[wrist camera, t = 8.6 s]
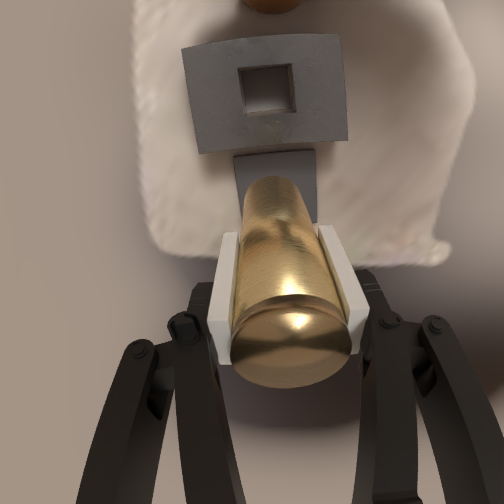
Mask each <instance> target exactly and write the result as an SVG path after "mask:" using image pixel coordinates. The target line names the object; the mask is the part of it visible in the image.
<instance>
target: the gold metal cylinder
mask: <svg viewBox="0 0 504 504" xmlns="http://www.w3.org/2000/svg"><path fill="white" fill-rule="evenodd" d="M351 351H352V341H351V337H350V334H349V331H348V327H347V324H346V321H345V317H344V314H343V311H342V308H341V305H340V302H339V299H338V295H337V292H336V289H335V286H334V283H333V280H332V277H331V274H330V272H329V269H328V266H327V263H326V260H325V257H324V254H323V252H322V249H321V246H320V243H319V241H318V238H317V235H316V232H315V230H314V227H313V224H312V222H311V219H310V216H309V214H308V211H307V209H306V206H305V204H304V201H303V199H302V196H301V194H300V191H299V189H298V188H297V186H296V185H295V184H294V183H293V182H292V181H290V180H289V179H287V178H284V177H281V176H266V177H263V178H260V179H258V180H257V181H255V182H254V183H253V184H252V185H251V186H250V187H249V188H248V190H247V192H246V195H245V198H244V208H243V218H242V228H241V239H240V249H239V259H238V270H237V281H236V292H235V303H234V314H233V325H232V337H231V349H230V361H231V364H232V366H233V368H234V369H235V371H237V373H238V374H239V375H241V376H242V377H243V378H245V379H247V380H248V381H250V382H252V383H255V384H258V385H261V386H266V387H272V388H295V387H302V386H306V385H310V384H314V383H316V382H319V381H321V380H324V379H325V378H328V377H329V376H331V375H333V374H334V373H335V372H337V371H338V370H339V369H340V368H341V367H342V366H343V365H344V364H345V363H346V361H347V360H348V358H349V356H350V354H351Z"/></svg>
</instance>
